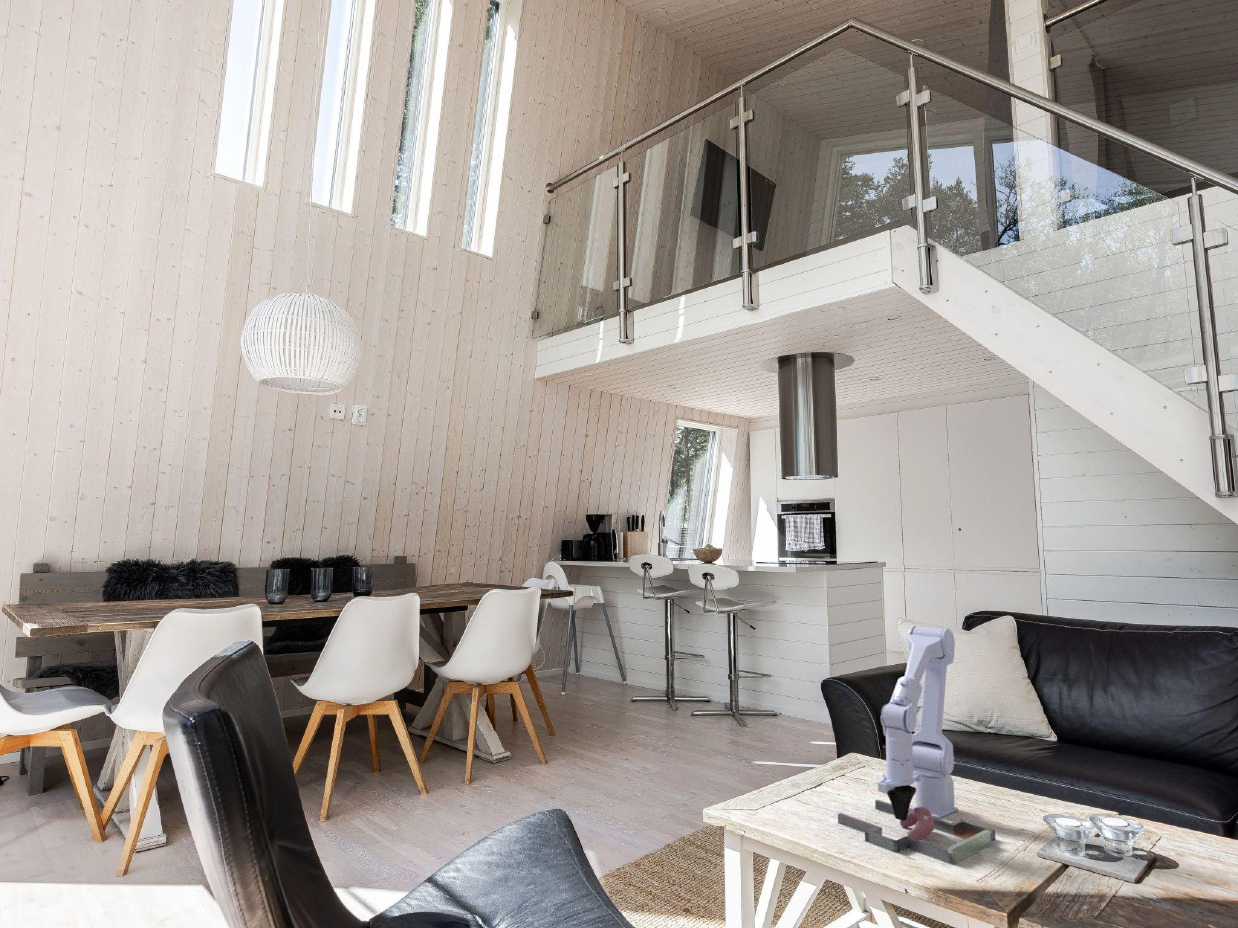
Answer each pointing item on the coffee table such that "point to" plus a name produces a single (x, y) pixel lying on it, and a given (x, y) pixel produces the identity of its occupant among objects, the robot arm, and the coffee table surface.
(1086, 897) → the coffee table surface
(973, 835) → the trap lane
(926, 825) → the video game controller
